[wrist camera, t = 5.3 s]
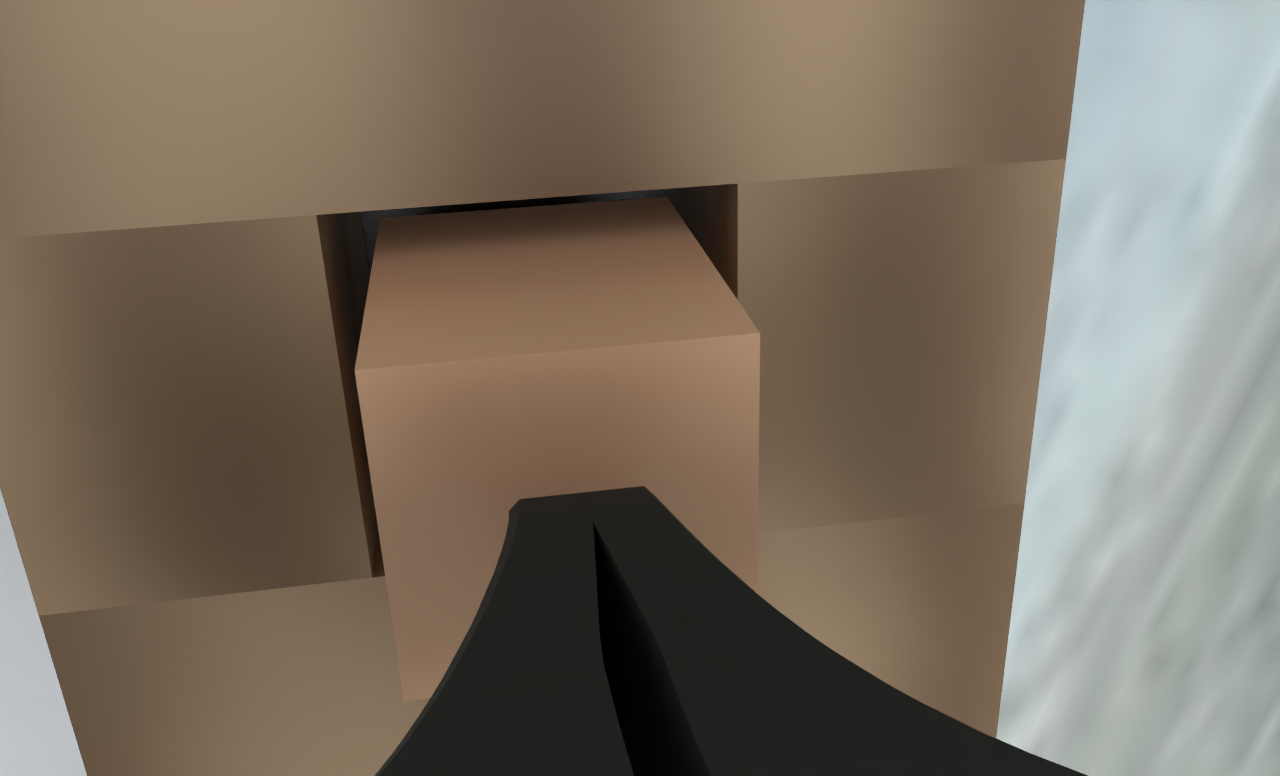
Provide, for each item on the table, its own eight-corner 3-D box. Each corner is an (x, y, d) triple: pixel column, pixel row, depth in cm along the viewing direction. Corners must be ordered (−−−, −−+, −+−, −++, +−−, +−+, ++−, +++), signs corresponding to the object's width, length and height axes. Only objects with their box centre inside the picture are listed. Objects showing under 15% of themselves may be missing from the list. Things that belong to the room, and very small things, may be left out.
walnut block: (278, 1025, 27) (241, 1286, 22) (9, -91, 17) (-170, -72, 12) (858, 931, 29) (945, 1154, 24) (925, -129, 19) (1099, -125, 14)
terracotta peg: (413, 473, 18) (403, 701, 13) (379, 218, 16) (354, 370, 11) (673, 446, 18) (756, 656, 13) (666, 196, 16) (760, 332, 12)
